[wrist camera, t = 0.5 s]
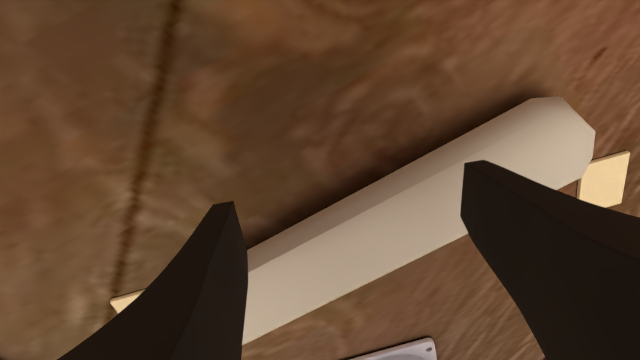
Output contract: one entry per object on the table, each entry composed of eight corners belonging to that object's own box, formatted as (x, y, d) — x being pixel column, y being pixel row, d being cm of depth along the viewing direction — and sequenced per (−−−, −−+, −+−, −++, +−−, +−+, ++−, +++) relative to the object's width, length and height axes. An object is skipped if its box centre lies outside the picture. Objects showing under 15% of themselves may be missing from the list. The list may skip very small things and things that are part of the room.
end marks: (617, 200, 27) (621, 203, 27) (141, 336, 28) (139, 340, 28) (626, 150, 25) (630, 152, 25) (110, 298, 26) (109, 302, 26)
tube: (595, 76, 18) (141, 317, 22) (636, 178, 19) (197, 391, 23) (536, 76, 23) (178, 270, 27) (570, 156, 24) (222, 332, 28)
